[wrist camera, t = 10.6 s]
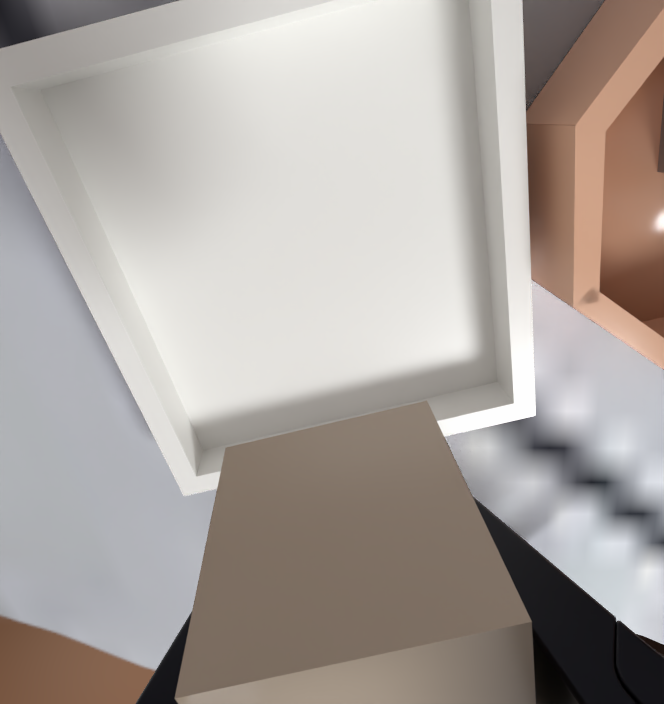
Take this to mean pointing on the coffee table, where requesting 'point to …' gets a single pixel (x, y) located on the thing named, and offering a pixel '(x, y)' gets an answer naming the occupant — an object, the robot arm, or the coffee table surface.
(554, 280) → the terracotta bowl
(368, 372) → the tray
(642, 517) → the coffee table surface
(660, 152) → the grey block
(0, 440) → the coffee table surface
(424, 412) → the taupe block
